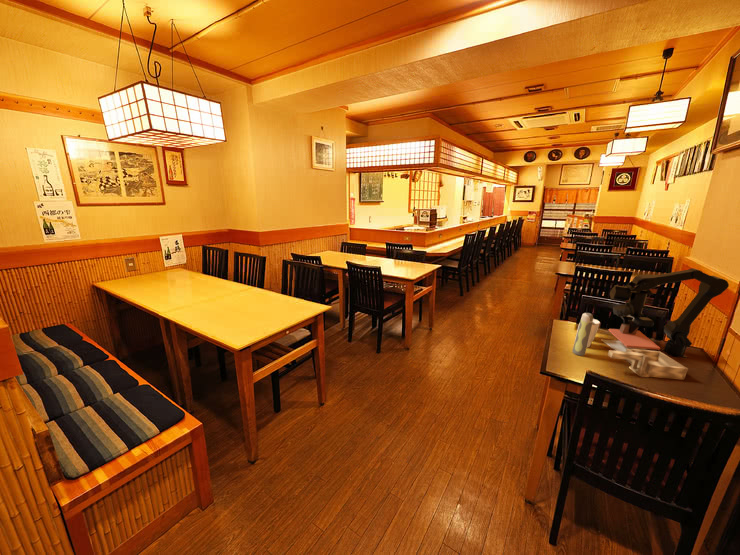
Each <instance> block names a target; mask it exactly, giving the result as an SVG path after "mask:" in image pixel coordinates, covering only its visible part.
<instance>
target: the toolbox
mask: <svg viewBox="0 0 740 555" xmlns="http://www.w3.org/2000/svg"><path fill="white" fill-rule="evenodd" d="M626 352H637V353H643V354H645V355H646V356H645V355H643V358H642V360H631V359H624V360H625V361H626V362H627V363H629V364H631V365H630V366H628V368H629V369H630V370H631V371H632V372H633V373H635V374H637V376H639V377H641V378H642V377H643V378H649V377H651V378H653V377H654V378H661V379H663V378H664V379H675V380H685V378H686V375H687V373H688V370H689V368H688V367H686V366H684V365H683V364H681V363H680V362H678V361H676V359H673V358H671V357H669V355H668V354H666V353H664V352H663V351H662V352H661V351H660V350H658V351H657V350H650V349H646V350H637V349H626Z"/></svg>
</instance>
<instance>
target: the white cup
mask: <svg viewBox="0 0 740 555" xmlns="http://www.w3.org/2000/svg"><path fill="white" fill-rule="evenodd" d="M592 322H594V323H595V330H594V334H593V338H592V341H591V342H593V341H594V340H595V338H596V336H597V333H598V329H599V327H600V324H601V322H600V321H599V320H598V319H595V318H593V321H592Z"/></svg>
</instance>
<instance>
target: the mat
mask: <svg viewBox="0 0 740 555" xmlns="http://www.w3.org/2000/svg"><path fill="white" fill-rule="evenodd" d="M601 341H602V342H603V343H604V344H605V345H607V346H609V347H610V348H611V349H613V351H625V352H626V349H637V350H647V349H644V348H631V347H626V346H625V345H624V344H623V343H622V342H620V341H619V340H614V339H613V340H612V339H601Z"/></svg>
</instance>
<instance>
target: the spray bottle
mask: <svg viewBox="0 0 740 555" xmlns="http://www.w3.org/2000/svg"><path fill="white" fill-rule="evenodd" d="M593 319H594V316H593V314H592V313H590V312H584V313H582V315H581V318H580V321H579V323H580V325H579V324H578V326H579V328H578V327H577V330H578V332H577V331H576V334H577V336H576V335H575V338H576V339H574V343H573V347H572V353H573V354H575V355H576V356H579V357H582V356H585V355H586V352H587V348H588V347H587V343H588V339H589V335H590V331H591V327H592V323H593V322H592V321H593Z"/></svg>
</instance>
